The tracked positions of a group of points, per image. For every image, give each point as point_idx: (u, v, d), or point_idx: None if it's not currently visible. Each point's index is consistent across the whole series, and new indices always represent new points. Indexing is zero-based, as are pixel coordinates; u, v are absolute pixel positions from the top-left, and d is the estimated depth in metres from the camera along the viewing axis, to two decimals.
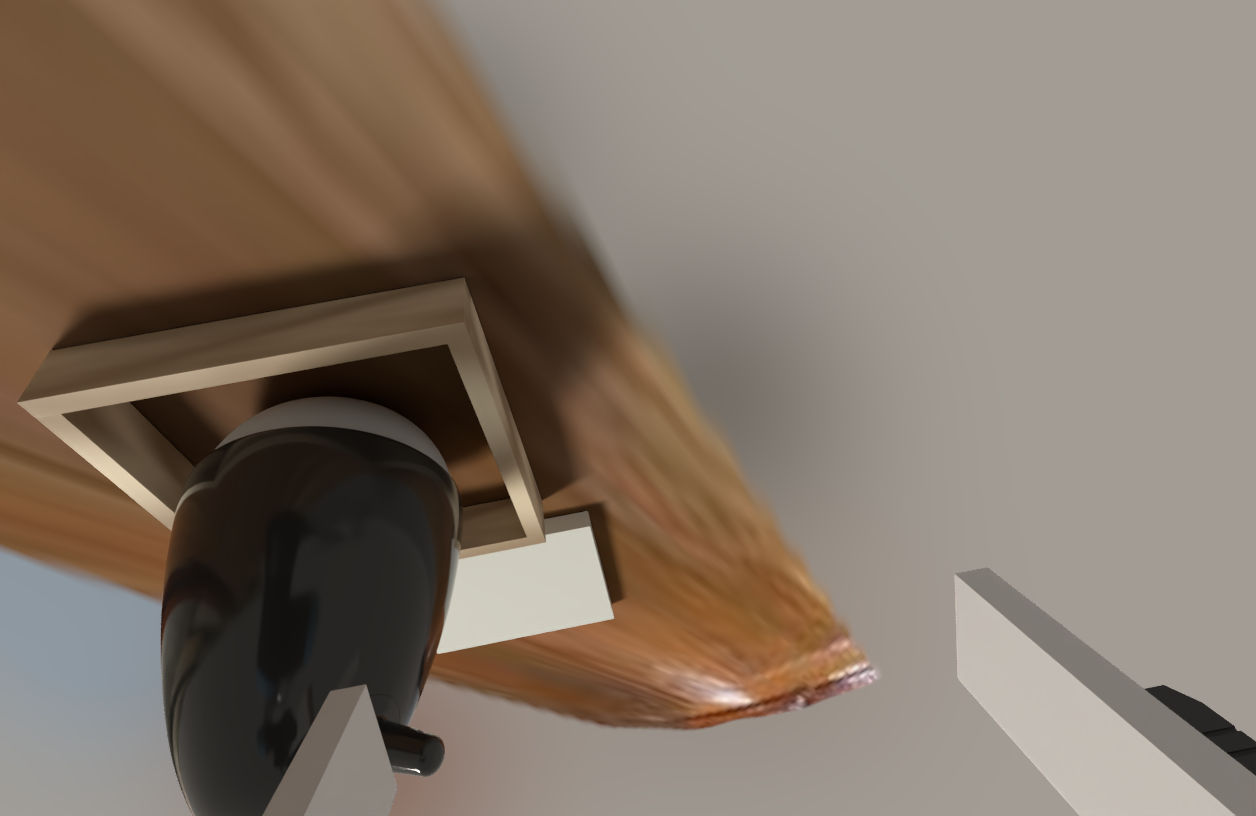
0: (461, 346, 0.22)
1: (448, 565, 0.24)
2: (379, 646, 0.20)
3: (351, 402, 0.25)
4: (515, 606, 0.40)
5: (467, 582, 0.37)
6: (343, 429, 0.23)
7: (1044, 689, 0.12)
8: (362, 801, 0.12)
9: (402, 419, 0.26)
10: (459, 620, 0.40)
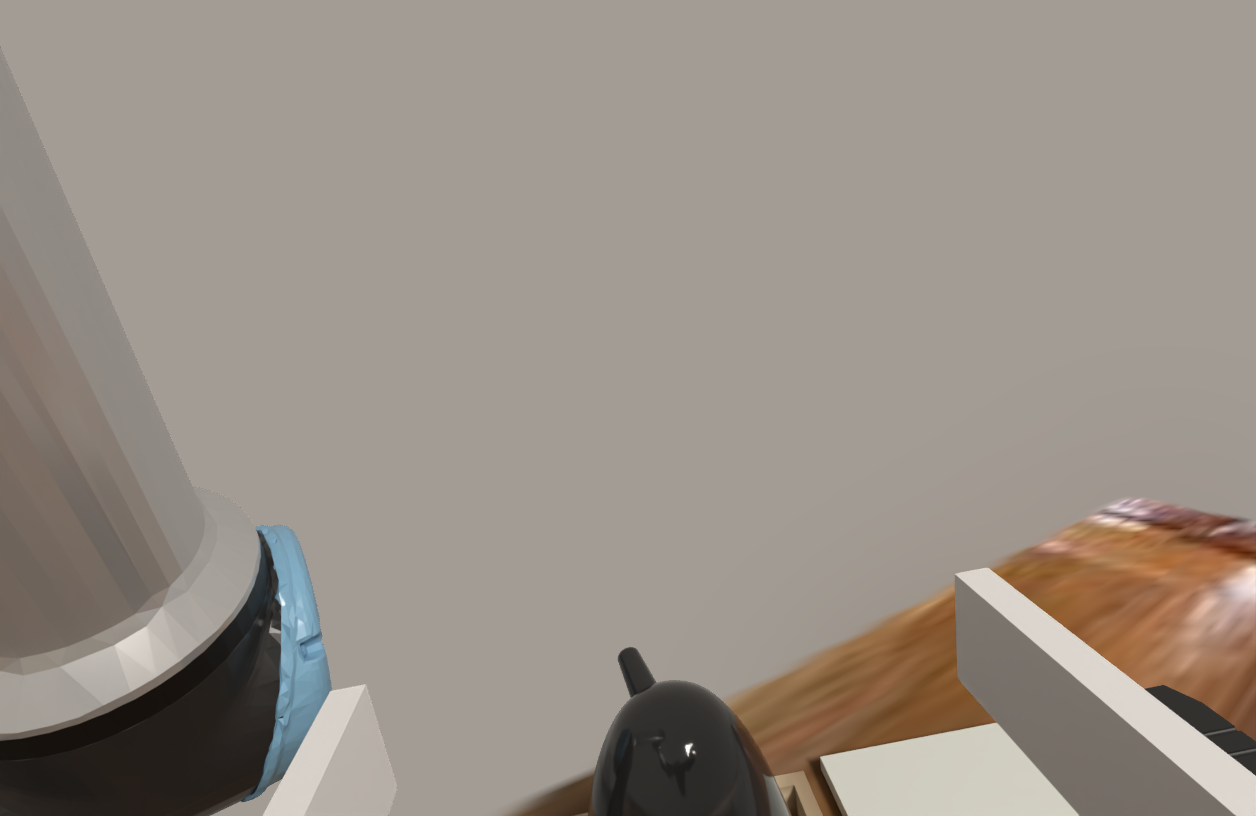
0: None
1: None
2: None
3: None
4: (995, 814, 0.34)
5: None
6: None
7: (1044, 689, 0.12)
8: (362, 801, 0.13)
9: None
10: None
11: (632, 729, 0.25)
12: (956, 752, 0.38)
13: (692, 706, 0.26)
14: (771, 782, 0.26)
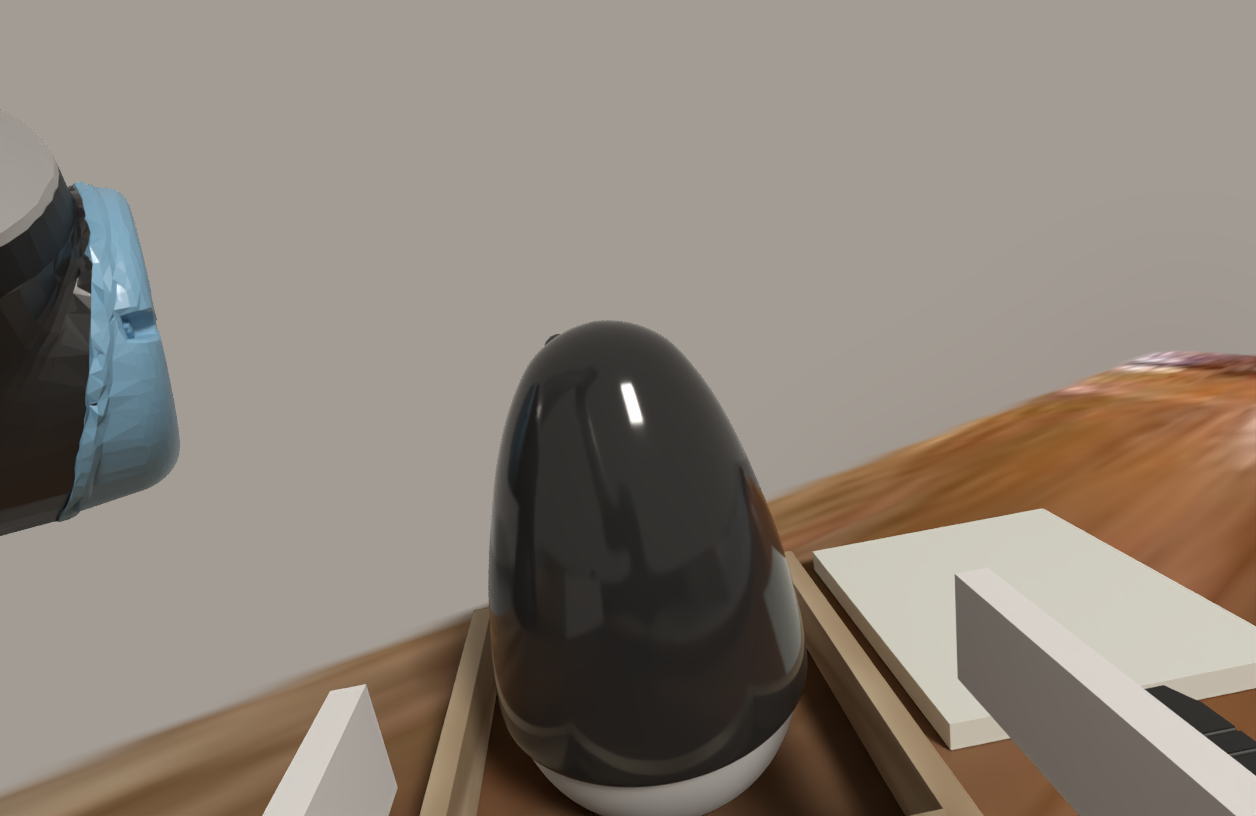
0: None
1: None
2: None
3: None
4: (1034, 582, 0.27)
5: None
6: None
7: (1044, 689, 0.12)
8: (362, 801, 0.12)
9: None
10: (1118, 630, 0.23)
11: (544, 354, 0.18)
12: (980, 537, 0.31)
13: (629, 326, 0.18)
14: (741, 446, 0.19)
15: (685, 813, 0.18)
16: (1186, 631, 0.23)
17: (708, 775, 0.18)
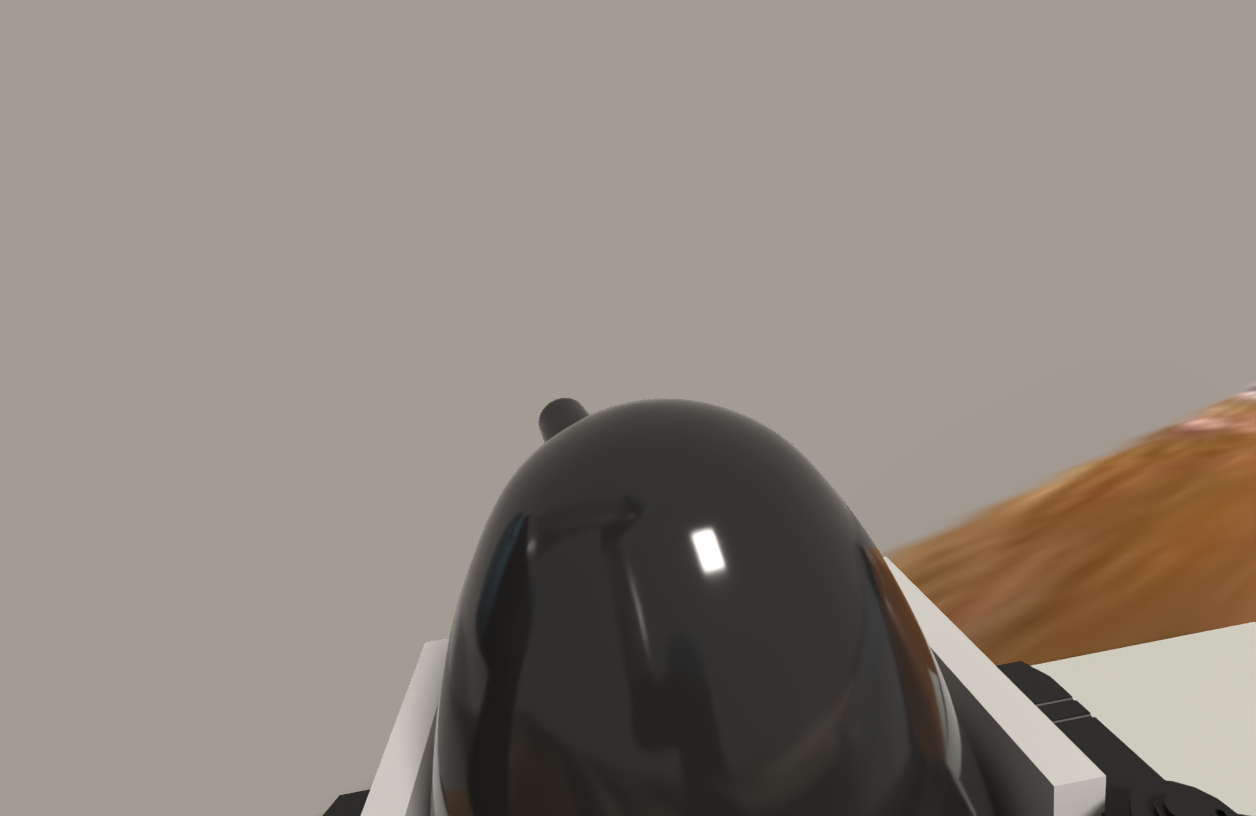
0: None
1: None
2: None
3: None
4: None
5: None
6: None
7: None
8: None
9: None
10: None
11: (534, 480, 0.08)
12: (1180, 672, 0.21)
13: (712, 419, 0.09)
14: None
15: None
16: None
17: None
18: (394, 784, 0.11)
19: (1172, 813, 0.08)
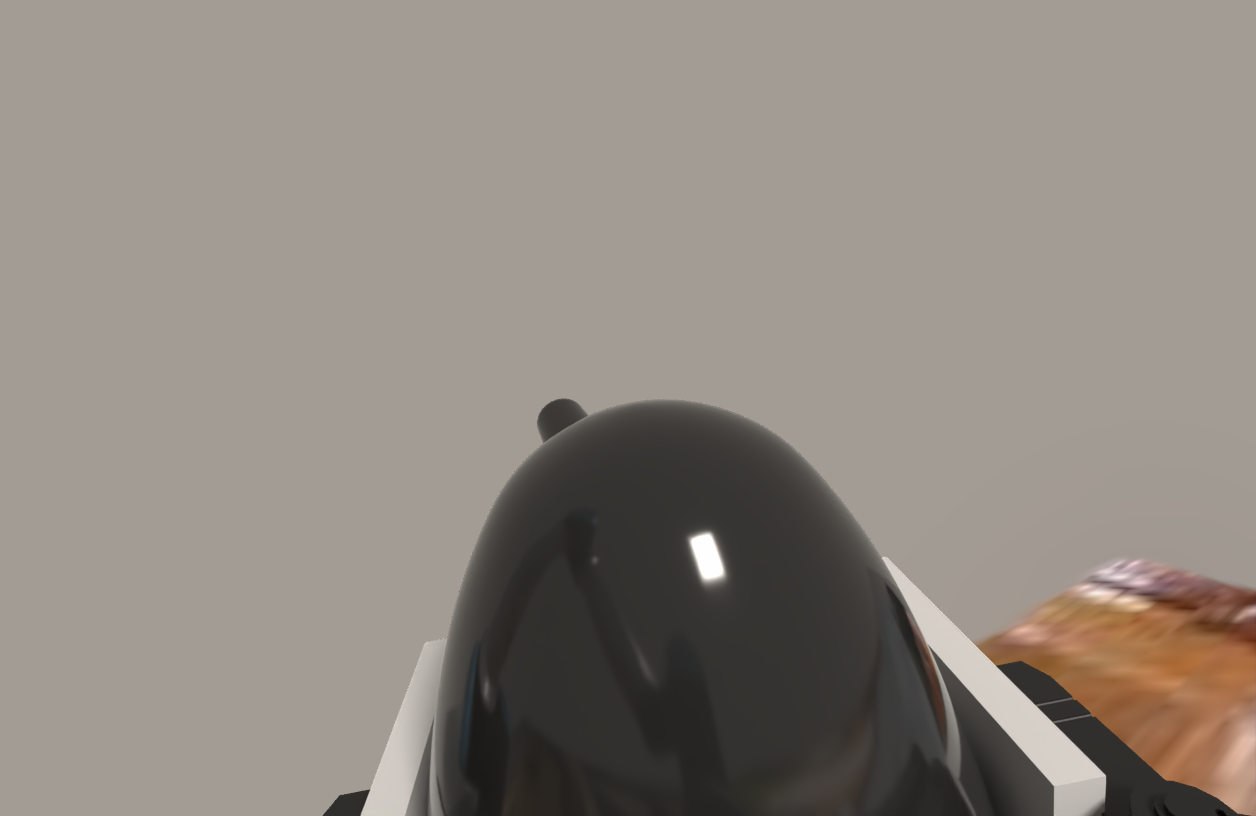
0: None
1: None
2: None
3: None
4: None
5: None
6: None
7: None
8: None
9: None
10: None
11: (532, 482, 0.08)
12: None
13: (711, 420, 0.09)
14: None
15: None
16: None
17: None
18: (394, 784, 0.11)
19: (1172, 813, 0.08)
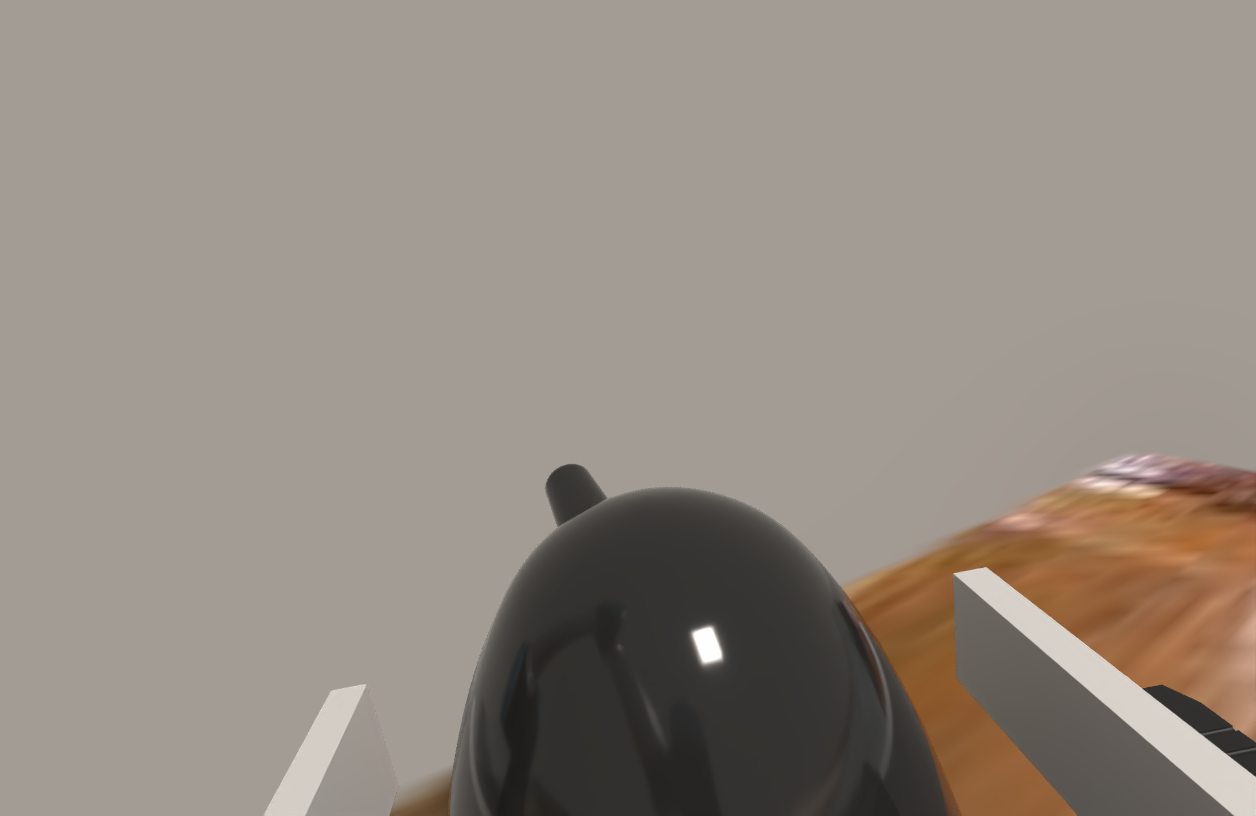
0: None
1: None
2: None
3: None
4: None
5: None
6: None
7: (1042, 689, 0.12)
8: (363, 800, 0.13)
9: None
10: None
11: (546, 580, 0.09)
12: None
13: (717, 518, 0.09)
14: (929, 738, 0.10)
15: None
16: None
17: None
18: None
19: None
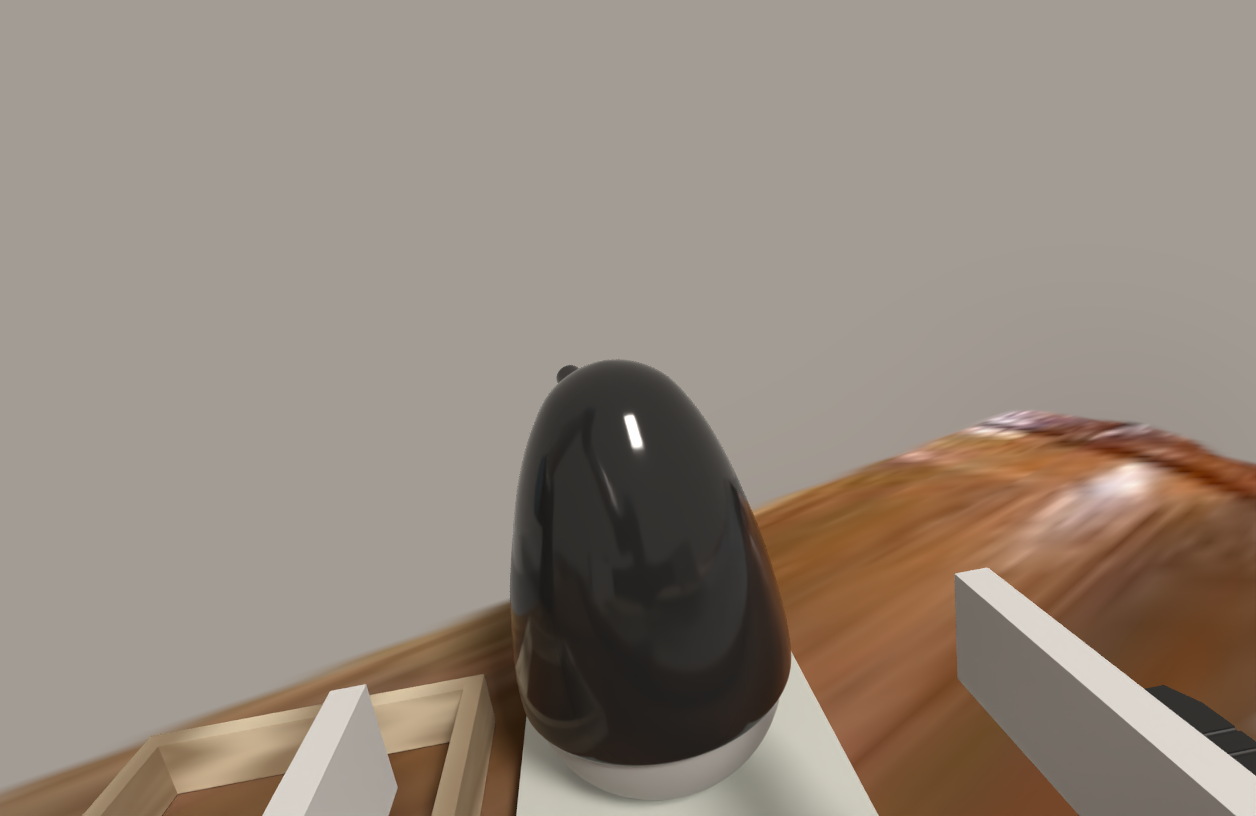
0: (169, 738, 0.28)
1: None
2: None
3: None
4: None
5: None
6: None
7: (1043, 689, 0.12)
8: (362, 801, 0.13)
9: None
10: (739, 792, 0.22)
11: (560, 390, 0.21)
12: None
13: (633, 366, 0.21)
14: (732, 469, 0.22)
15: (684, 789, 0.21)
16: (800, 798, 0.22)
17: (703, 756, 0.20)
18: None
19: None
